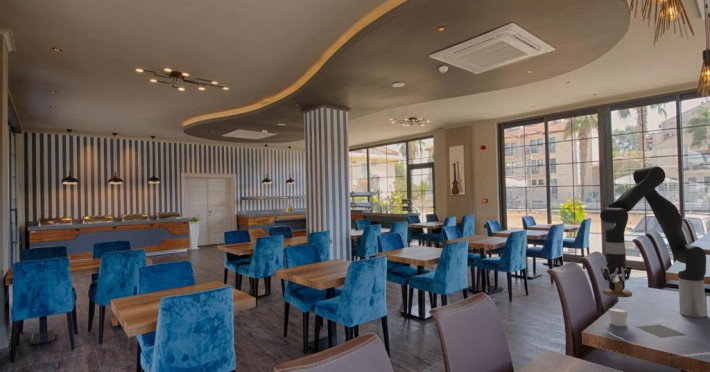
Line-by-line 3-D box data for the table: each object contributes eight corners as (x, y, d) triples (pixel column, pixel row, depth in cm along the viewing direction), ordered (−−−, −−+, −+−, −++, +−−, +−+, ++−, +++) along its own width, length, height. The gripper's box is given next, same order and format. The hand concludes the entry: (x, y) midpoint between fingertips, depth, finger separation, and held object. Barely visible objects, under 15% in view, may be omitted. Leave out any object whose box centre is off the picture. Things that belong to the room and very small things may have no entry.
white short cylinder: (610, 321, 177) (609, 306, 177) (628, 324, 172) (627, 309, 172) (608, 326, 171) (607, 310, 171) (627, 329, 167) (626, 313, 167)
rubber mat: (660, 326, 169) (659, 324, 169) (686, 336, 157) (686, 334, 157) (635, 328, 167) (635, 326, 167) (661, 339, 155) (661, 337, 155)
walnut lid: (618, 289, 178) (617, 278, 178) (638, 296, 167) (638, 283, 167) (597, 291, 177) (596, 279, 177) (616, 298, 166) (615, 285, 166)
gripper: (622, 249, 177) (624, 286, 177) (594, 251, 175) (596, 288, 175) (636, 252, 169) (638, 290, 169) (607, 254, 167) (609, 293, 167)
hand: (616, 289), depth 172 cm, fingers closed on walnut lid, 4 cm apart
